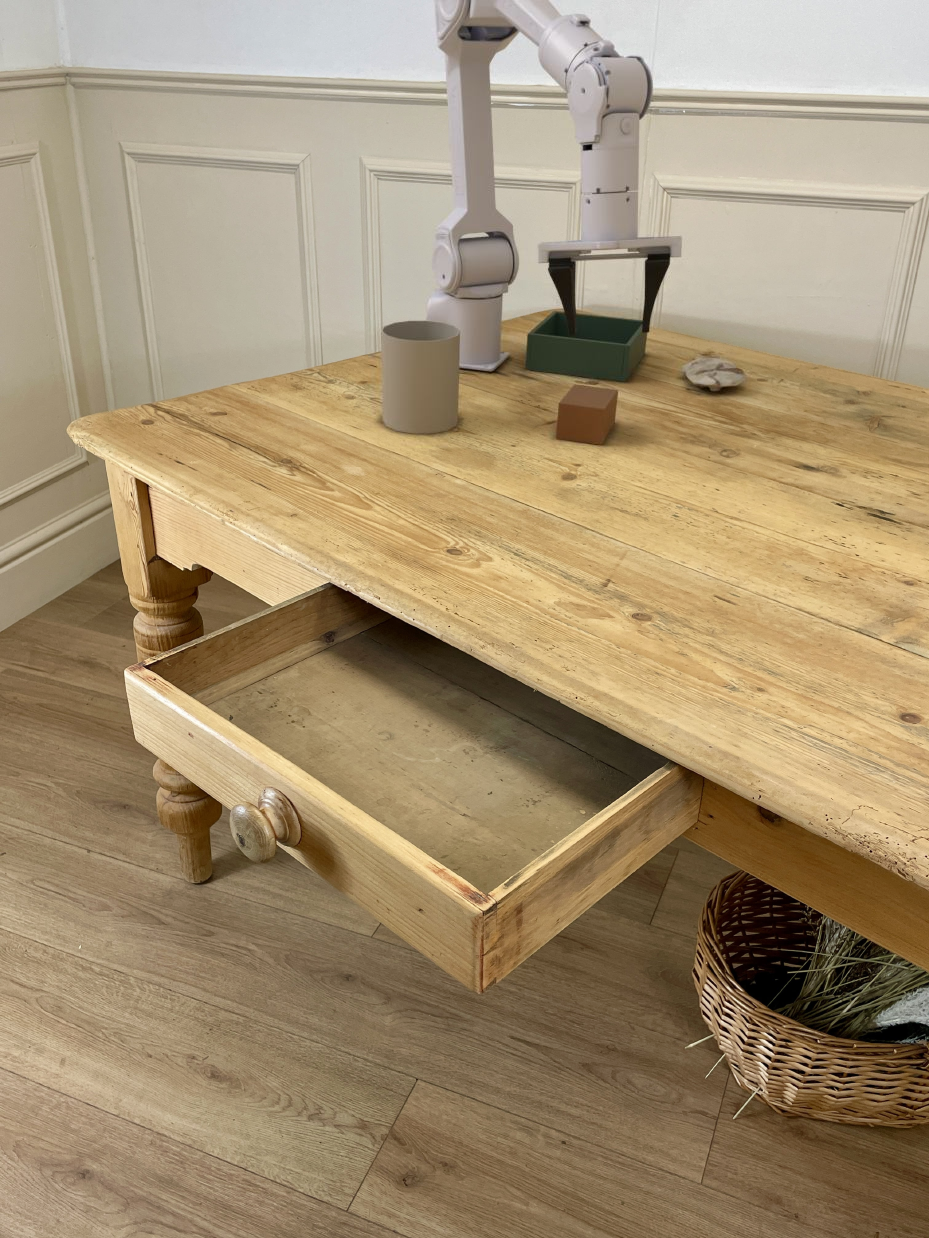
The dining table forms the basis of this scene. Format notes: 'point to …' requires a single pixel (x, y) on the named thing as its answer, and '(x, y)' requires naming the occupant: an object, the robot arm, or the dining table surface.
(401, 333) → the cup
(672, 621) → the dining table surface
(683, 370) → the stone
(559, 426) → the block
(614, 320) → the bin
